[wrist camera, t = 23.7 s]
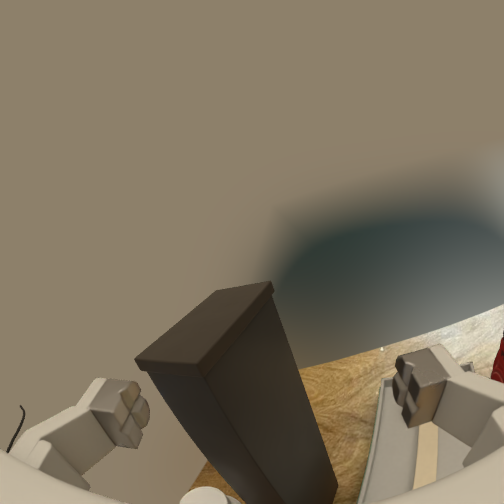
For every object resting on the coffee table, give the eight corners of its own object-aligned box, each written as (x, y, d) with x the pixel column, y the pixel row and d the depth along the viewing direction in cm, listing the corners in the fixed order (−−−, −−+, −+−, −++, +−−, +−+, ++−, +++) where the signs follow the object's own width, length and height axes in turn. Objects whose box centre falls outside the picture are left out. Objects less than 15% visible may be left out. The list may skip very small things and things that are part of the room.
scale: (348, 536, 15) (344, 527, 14) (380, 396, 34) (378, 376, 33) (484, 520, 8) (496, 507, 8) (472, 379, 27) (474, 358, 27)
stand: (278, 537, 18) (132, 358, 13) (304, 481, 25) (215, 290, 20) (318, 543, 16) (196, 363, 11) (340, 483, 23) (271, 280, 18)
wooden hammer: (397, 497, 16) (398, 484, 15) (409, 395, 29) (408, 376, 28) (446, 492, 14) (452, 477, 13) (445, 389, 26) (447, 369, 26)
